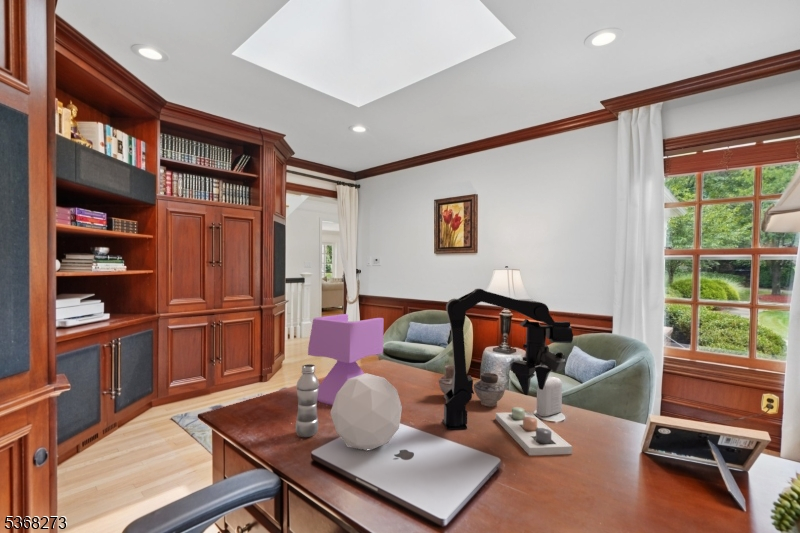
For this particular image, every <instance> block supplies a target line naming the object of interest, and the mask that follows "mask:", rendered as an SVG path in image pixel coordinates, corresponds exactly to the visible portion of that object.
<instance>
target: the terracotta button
mask: <svg viewBox="0 0 800 533" xmlns="http://www.w3.org/2000/svg"><path fill="white" fill-rule="evenodd" d="M536 429H537V419H535V418H532V417H524V418H523V430H525V431H526V432H536Z"/></svg>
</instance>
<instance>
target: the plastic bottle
mask: <svg viewBox="0 0 800 533" xmlns="http://www.w3.org/2000/svg"><path fill="white" fill-rule="evenodd" d="M315 373H316V366H315V364H310V363H309V364H303V365H302V366H301V376H299V379H298V380H297V383H296V395H297V416H296V422H295V426H294V427H295V433H296V434H297V436H298V437H300V438H311V437H312V436H315V435H316V434H317V432H318V431H319V430H318V429H319V426H320V424H319V418H318V407H317V406H318V401H317V396H318V389H319V385H320V381H319V379H318V377H317V376H316V374H315Z"/></svg>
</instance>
